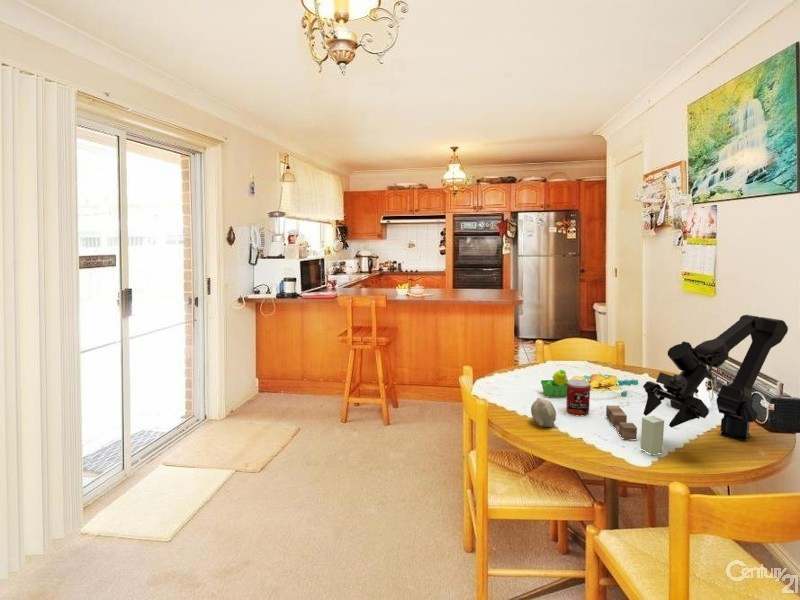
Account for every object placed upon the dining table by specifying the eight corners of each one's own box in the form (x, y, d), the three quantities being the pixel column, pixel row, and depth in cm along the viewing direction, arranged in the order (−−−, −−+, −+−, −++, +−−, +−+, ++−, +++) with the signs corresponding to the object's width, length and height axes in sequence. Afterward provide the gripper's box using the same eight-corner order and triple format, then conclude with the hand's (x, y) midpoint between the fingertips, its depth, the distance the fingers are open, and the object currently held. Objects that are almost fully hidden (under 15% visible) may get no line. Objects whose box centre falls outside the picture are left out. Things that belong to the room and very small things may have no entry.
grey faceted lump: (548, 436, 157) (551, 413, 152) (524, 426, 161) (526, 403, 157) (559, 419, 163) (562, 396, 158) (536, 410, 168) (538, 388, 163)
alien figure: (637, 384, 201) (589, 376, 213) (638, 379, 200) (589, 371, 213) (625, 398, 185) (573, 388, 198) (625, 392, 185) (573, 383, 197)
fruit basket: (567, 391, 193) (567, 364, 191) (576, 398, 184) (577, 370, 183) (539, 392, 192) (540, 365, 191) (547, 400, 184) (548, 371, 182)
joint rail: (606, 416, 166) (606, 405, 166) (618, 416, 166) (618, 405, 165) (622, 439, 148) (623, 427, 147) (636, 440, 147) (637, 427, 146)
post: (651, 447, 142) (653, 415, 140) (662, 453, 138) (664, 420, 137) (640, 449, 141) (642, 417, 139) (651, 455, 137) (653, 422, 136)
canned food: (566, 415, 168) (567, 385, 167) (566, 407, 176) (567, 378, 174) (589, 417, 166) (590, 386, 164) (588, 409, 173) (589, 380, 172)
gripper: (649, 355, 147) (618, 393, 145) (704, 371, 129) (669, 415, 127) (668, 377, 150) (637, 415, 148) (723, 396, 132) (690, 439, 131)
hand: (657, 420), depth 139 cm, fingers open, 9 cm apart
